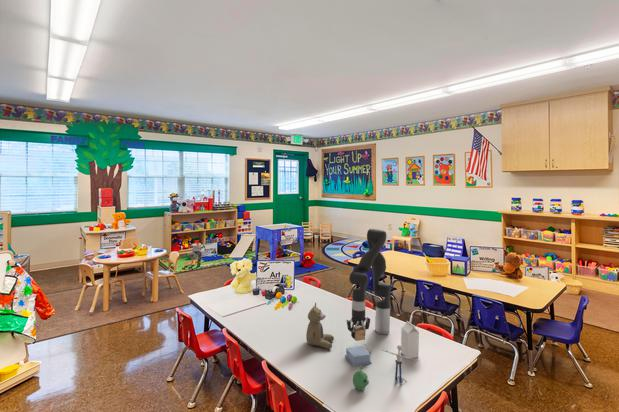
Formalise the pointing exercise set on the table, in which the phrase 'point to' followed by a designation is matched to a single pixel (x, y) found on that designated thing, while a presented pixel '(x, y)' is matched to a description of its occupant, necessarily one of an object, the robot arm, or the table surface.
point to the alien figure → (398, 363)
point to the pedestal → (358, 356)
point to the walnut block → (359, 333)
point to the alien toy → (360, 379)
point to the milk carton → (409, 341)
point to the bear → (317, 330)
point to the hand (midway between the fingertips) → (358, 337)
